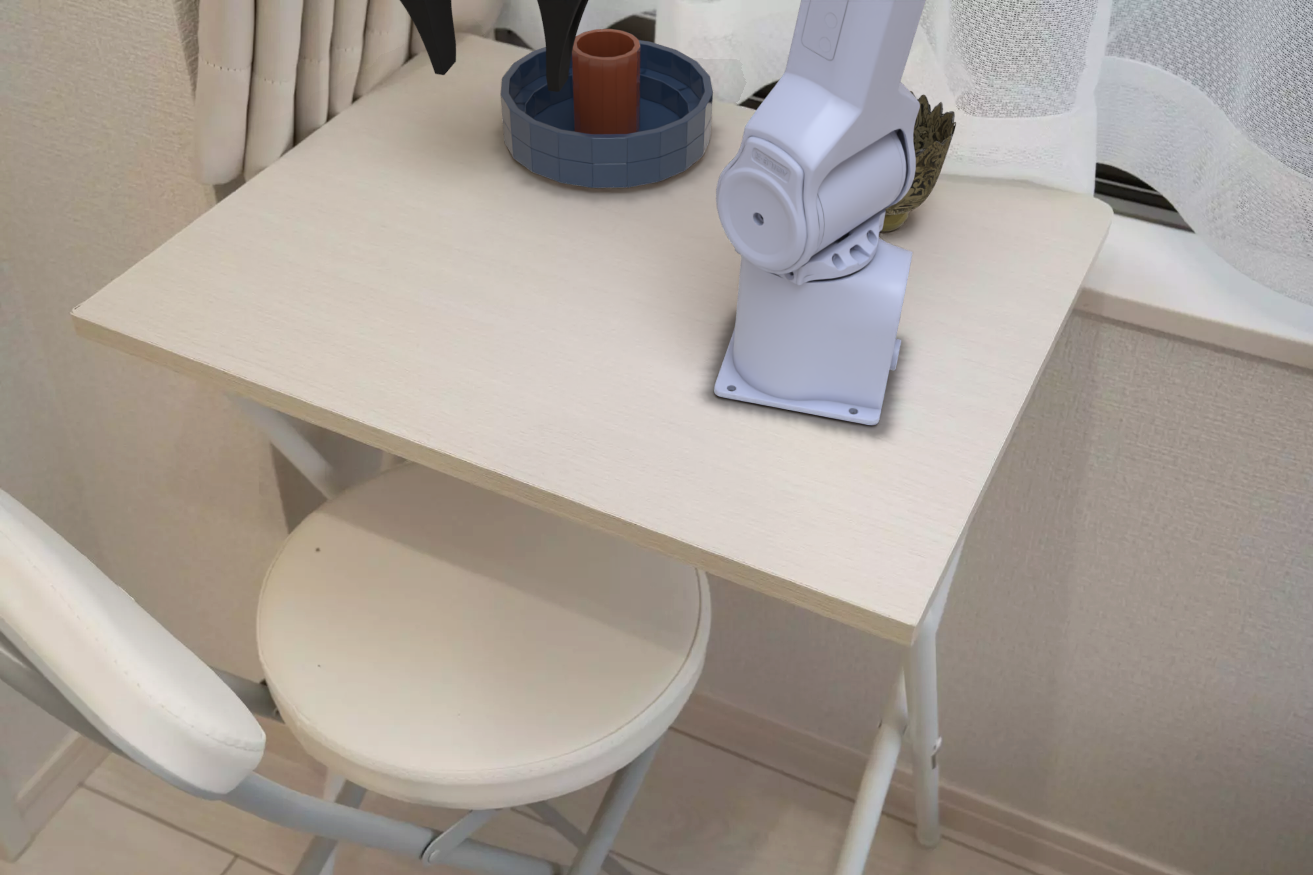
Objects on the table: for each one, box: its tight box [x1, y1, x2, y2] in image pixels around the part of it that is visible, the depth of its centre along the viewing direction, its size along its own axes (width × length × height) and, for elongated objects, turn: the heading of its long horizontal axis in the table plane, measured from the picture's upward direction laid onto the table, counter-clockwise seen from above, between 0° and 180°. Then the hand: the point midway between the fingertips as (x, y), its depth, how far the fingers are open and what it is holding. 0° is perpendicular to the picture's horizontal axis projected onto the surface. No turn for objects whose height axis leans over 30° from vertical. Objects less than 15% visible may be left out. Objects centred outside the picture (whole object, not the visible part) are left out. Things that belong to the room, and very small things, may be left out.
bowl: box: [500, 39, 714, 189], centre depth 87 cm, size 15×15×4 cm
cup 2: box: [880, 90, 957, 232], centre depth 78 cm, size 8×7×8 cm
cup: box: [571, 28, 640, 134], centre depth 85 cm, size 5×5×7 cm
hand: (501, 76), depth 75 cm, fingers open, 7 cm apart
